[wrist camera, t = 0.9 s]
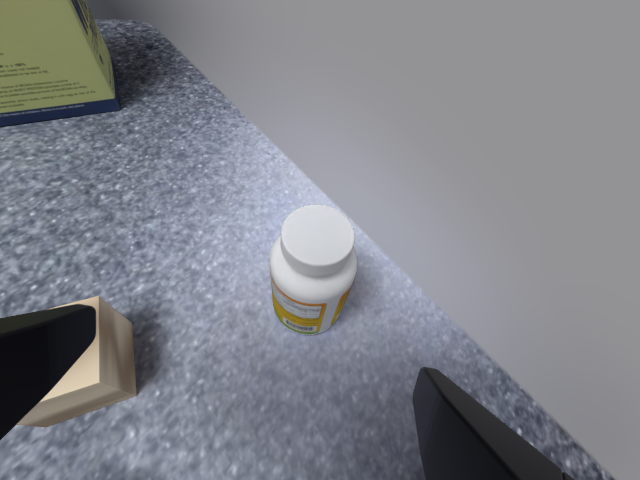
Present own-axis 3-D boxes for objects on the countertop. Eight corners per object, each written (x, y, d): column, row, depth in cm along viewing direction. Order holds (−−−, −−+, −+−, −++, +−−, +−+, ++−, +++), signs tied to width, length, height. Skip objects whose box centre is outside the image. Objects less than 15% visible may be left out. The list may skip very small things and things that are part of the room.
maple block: (137, 395, 20) (99, 382, 16) (46, 427, 19) (-20, 421, 15) (132, 323, 23) (98, 295, 19) (52, 347, 21) (-4, 322, 17)
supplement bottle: (322, 263, 27) (338, 183, 19) (353, 318, 24) (388, 254, 16) (262, 287, 25) (251, 210, 17) (290, 349, 23) (293, 294, 15)
